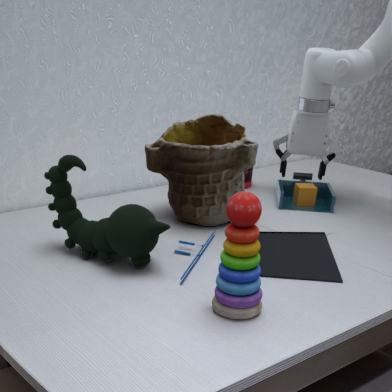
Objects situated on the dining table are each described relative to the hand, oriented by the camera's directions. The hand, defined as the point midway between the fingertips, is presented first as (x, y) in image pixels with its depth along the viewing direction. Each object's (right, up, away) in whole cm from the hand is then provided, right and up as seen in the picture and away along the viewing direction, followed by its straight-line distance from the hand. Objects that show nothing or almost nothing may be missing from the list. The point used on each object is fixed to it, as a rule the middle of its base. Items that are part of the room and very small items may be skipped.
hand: (301, 177), depth 133 cm
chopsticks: (-30, -27, -35) cm, 54 cm away
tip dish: (-1, -8, -4) cm, 9 cm away
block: (-1, -9, -6) cm, 10 cm away
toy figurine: (-44, -28, -38) cm, 65 cm away
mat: (-9, -23, -28) cm, 37 cm away
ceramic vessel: (-28, -15, -16) cm, 35 cm away
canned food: (-17, -1, +6) cm, 18 cm away
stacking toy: (-21, -39, -52) cm, 69 cm away
